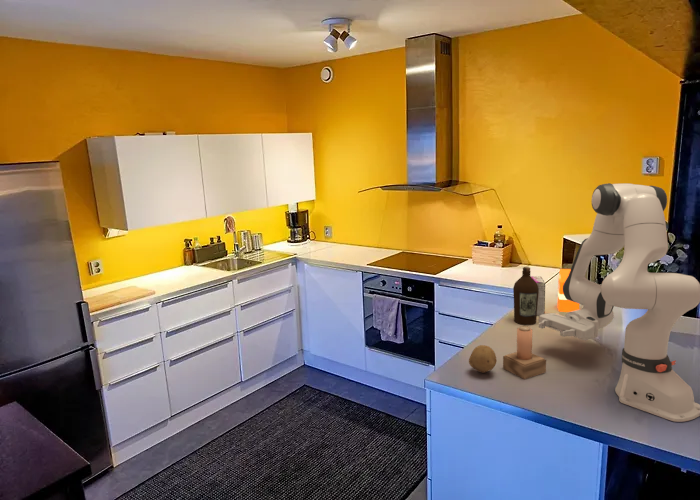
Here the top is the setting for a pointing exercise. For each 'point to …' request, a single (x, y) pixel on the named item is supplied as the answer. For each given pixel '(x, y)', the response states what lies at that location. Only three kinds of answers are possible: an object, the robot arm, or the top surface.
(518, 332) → the terracotta jar
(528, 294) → the olive oil
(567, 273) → the orange juice
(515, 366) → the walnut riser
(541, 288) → the candy bar box
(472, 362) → the natural sponge
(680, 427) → the top surface
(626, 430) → the top surface
